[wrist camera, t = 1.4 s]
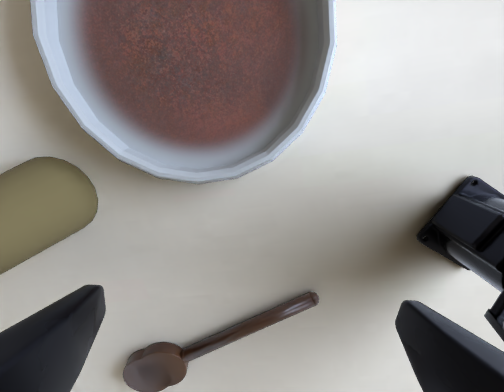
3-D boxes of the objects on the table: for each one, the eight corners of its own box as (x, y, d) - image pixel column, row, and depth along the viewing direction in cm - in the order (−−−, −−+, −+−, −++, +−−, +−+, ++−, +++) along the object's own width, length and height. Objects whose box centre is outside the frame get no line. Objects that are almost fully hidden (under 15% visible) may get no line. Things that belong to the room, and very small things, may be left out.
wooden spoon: (306, 273, 23) (310, 281, 22) (326, 308, 25) (330, 318, 24) (117, 359, 26) (111, 371, 25) (145, 387, 27) (141, 400, 26)
